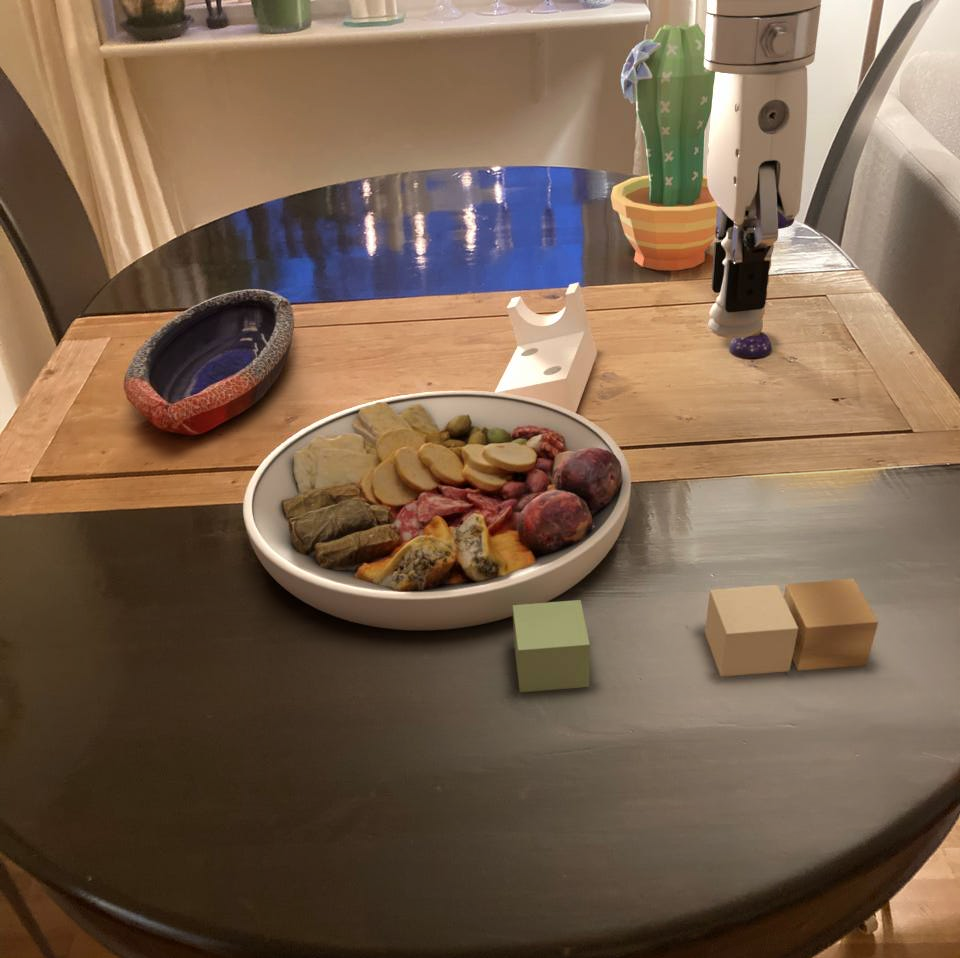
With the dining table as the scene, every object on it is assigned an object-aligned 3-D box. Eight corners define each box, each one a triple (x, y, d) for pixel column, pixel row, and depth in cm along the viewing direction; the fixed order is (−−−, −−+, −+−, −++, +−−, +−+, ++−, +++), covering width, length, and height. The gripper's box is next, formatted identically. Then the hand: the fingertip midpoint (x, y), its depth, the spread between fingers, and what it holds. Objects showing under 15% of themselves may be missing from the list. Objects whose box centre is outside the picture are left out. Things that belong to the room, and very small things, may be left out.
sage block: (580, 650, 66) (580, 599, 63) (589, 696, 62) (590, 644, 59) (514, 655, 66) (512, 605, 63) (520, 701, 62) (517, 650, 59)
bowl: (201, 644, 68) (172, 555, 63) (313, 437, 91) (297, 358, 86) (623, 664, 64) (628, 570, 59) (631, 441, 86) (635, 359, 81)
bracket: (532, 366, 101) (512, 298, 97) (597, 353, 99) (579, 282, 94) (505, 425, 92) (481, 352, 88) (575, 412, 89) (554, 337, 85)
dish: (327, 323, 111) (320, 280, 108) (243, 458, 88) (230, 409, 85) (201, 323, 113) (190, 281, 110) (87, 455, 91) (69, 407, 87)
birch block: (841, 630, 65) (854, 578, 63) (864, 674, 62) (879, 621, 59) (775, 635, 65) (785, 583, 63) (795, 680, 62) (806, 627, 59)
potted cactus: (631, 232, 128) (640, 12, 112) (745, 243, 123) (773, 13, 106) (590, 272, 118) (593, 37, 102) (712, 286, 113) (737, 39, 96)
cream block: (768, 635, 65) (778, 584, 63) (787, 680, 62) (798, 628, 59) (703, 641, 66) (709, 589, 63) (719, 686, 62) (726, 633, 59)
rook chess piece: (736, 344, 77) (745, 244, 72) (696, 329, 80) (702, 231, 75) (773, 328, 79) (785, 228, 74) (732, 313, 82) (741, 217, 77)
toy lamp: (725, 340, 101) (744, 171, 90) (770, 338, 101) (794, 169, 90) (732, 360, 98) (753, 186, 87) (779, 358, 97) (805, 183, 86)
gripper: (856, 54, 60) (814, 335, 72) (780, 15, 72) (755, 260, 84) (736, 67, 60) (715, 346, 72) (681, 26, 73) (671, 269, 85)
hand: (737, 297), depth 78 cm, fingers closed on rook chess piece, 3 cm apart
